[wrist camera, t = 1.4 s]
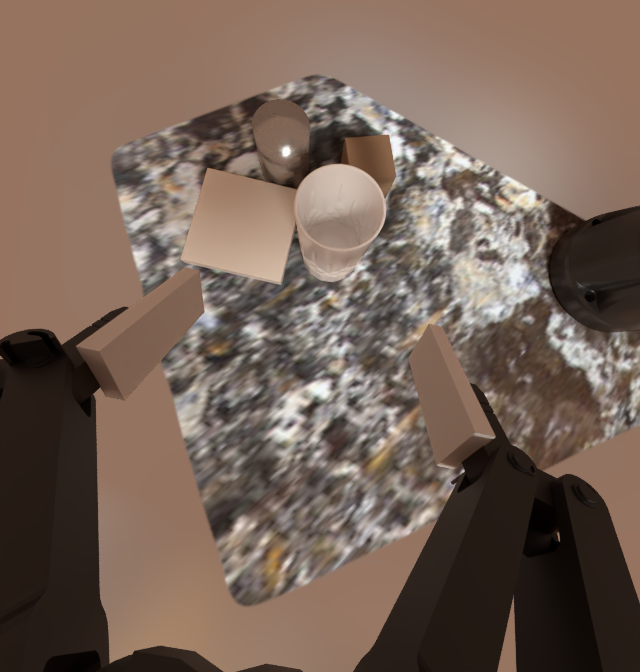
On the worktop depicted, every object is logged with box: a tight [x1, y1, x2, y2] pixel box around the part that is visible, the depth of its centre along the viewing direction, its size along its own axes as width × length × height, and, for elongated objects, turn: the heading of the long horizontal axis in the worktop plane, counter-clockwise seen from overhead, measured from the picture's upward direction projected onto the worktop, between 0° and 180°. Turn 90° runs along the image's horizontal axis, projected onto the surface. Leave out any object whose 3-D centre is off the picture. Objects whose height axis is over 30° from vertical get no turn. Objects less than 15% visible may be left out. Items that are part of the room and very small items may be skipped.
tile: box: [181, 168, 297, 285], centre depth 30 cm, size 12×12×1 cm
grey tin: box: [252, 100, 309, 189], centre depth 28 cm, size 6×6×6 cm
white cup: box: [294, 164, 386, 282], centre depth 25 cm, size 8×8×10 cm
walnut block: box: [341, 135, 396, 198], centre depth 29 cm, size 5×5×5 cm
